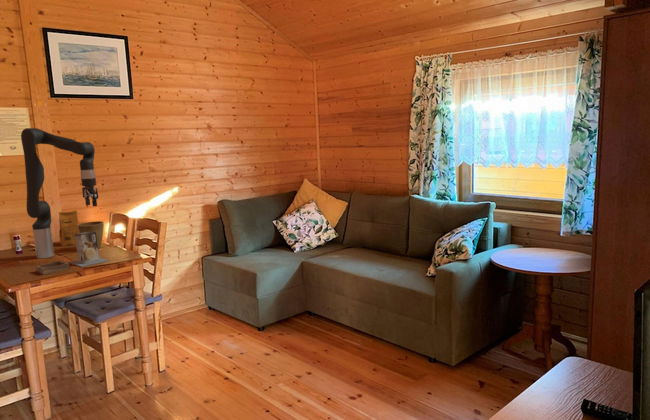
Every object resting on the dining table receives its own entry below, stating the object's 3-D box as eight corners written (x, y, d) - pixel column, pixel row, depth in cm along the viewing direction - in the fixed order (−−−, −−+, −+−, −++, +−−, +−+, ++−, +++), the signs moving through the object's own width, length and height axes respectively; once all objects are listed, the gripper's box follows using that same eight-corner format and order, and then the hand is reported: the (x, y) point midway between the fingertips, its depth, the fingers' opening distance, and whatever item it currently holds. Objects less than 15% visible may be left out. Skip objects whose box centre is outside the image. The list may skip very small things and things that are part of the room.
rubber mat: (69, 263, 275) (69, 262, 275) (96, 257, 287) (95, 256, 286) (81, 267, 266) (81, 266, 266) (108, 261, 277) (108, 259, 277)
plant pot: (100, 244, 321) (97, 220, 318) (110, 247, 310) (107, 222, 308) (76, 249, 310) (73, 224, 308) (85, 252, 300) (82, 226, 297)
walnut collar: (36, 271, 260) (35, 266, 260) (61, 266, 270) (61, 260, 269) (43, 274, 254) (42, 269, 253) (69, 268, 264) (69, 263, 263)
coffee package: (60, 244, 327) (56, 211, 323) (81, 241, 332) (77, 209, 329) (60, 246, 318) (56, 213, 314) (81, 244, 324) (77, 211, 320)
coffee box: (93, 258, 282) (90, 230, 279) (99, 259, 278) (96, 231, 276) (77, 262, 274) (74, 234, 272) (84, 263, 271) (81, 235, 268)
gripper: (76, 177, 283) (79, 205, 286) (87, 178, 274) (90, 207, 276) (89, 176, 289) (92, 203, 291) (100, 177, 279) (103, 205, 282)
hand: (91, 205), depth 284 cm, fingers open, 8 cm apart
